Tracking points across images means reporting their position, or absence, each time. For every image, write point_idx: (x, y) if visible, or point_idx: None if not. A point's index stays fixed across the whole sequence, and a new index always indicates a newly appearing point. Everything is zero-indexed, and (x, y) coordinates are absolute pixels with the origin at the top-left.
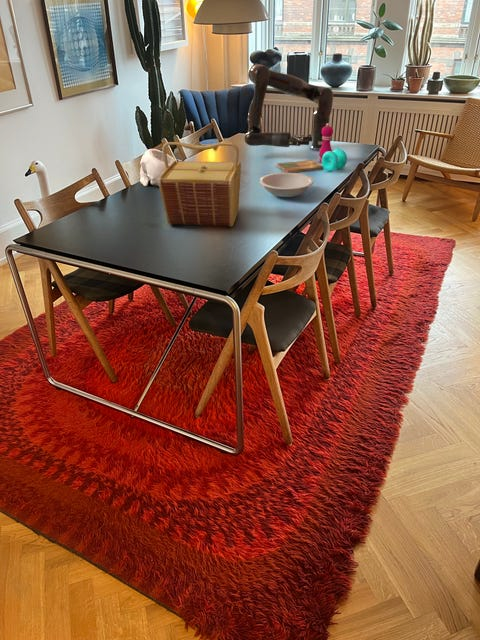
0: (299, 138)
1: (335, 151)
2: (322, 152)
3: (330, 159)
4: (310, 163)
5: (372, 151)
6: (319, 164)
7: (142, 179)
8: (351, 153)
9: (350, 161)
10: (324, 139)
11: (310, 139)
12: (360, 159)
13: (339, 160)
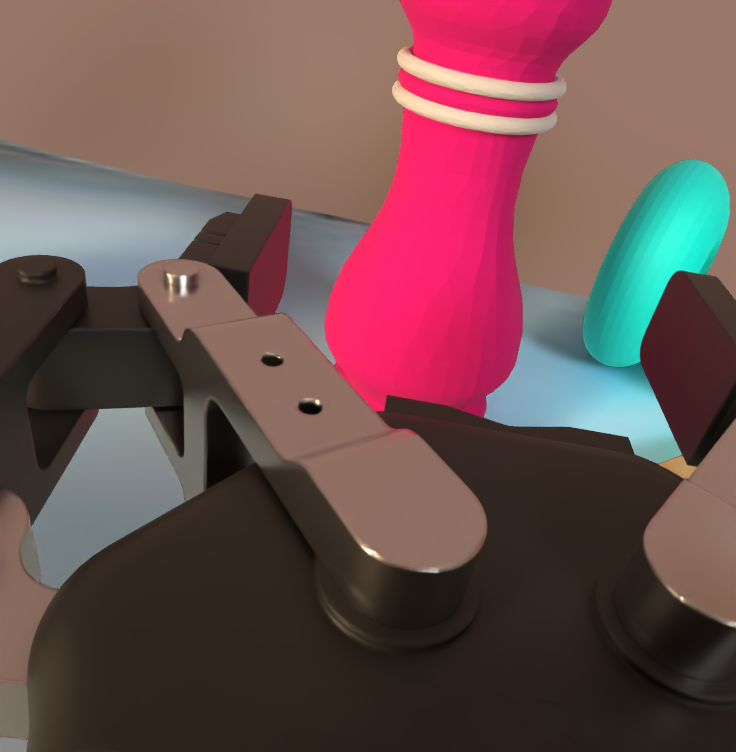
0: (474, 423)
1: (717, 208)
2: (517, 327)
3: (648, 324)
4: None
5: (5, 142)
6: (677, 459)
7: None
8: (23, 220)
9: (330, 264)
10: (552, 126)
11: (281, 265)
12: None
13: (706, 272)
